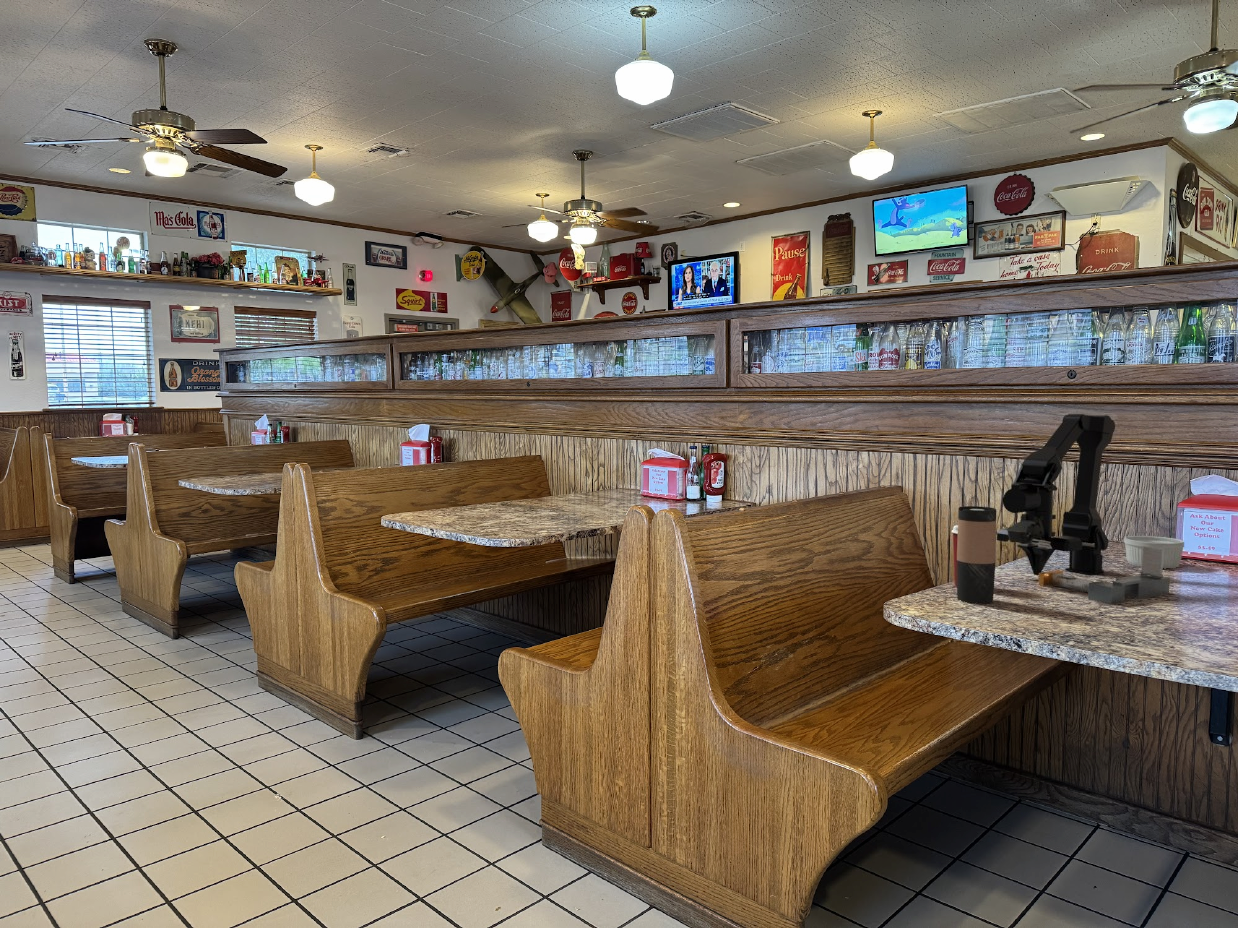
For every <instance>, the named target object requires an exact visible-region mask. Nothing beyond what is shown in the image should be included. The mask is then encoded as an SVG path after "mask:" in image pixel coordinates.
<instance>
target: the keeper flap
mask: <svg viewBox="0 0 1238 928" xmlns="http://www.w3.org/2000/svg"><path fill="white" fill-rule="evenodd" d="M1163 559H1164V549H1159V548H1152V547H1144V548H1143V559H1142V567H1141V571H1140V572H1139V575H1145V576H1151V577H1157V578H1163V577H1164V575H1163V570H1164V569H1163Z"/></svg>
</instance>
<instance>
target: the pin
mask: <svg viewBox="0 0 1238 928" xmlns="http://www.w3.org/2000/svg"><path fill="white" fill-rule="evenodd" d="M1092 582H1094V580H1091V579H1086V578H1080V577H1076V576H1071V575H1070V576H1069V575H1064V571H1063V570H1059V569H1057V570H1050V571H1049V570H1048V571H1043V572H1041V573H1039V575H1038V586H1039V585H1040V587H1049V586H1054V585H1055V587H1060V588H1064V589H1065V588H1066V589H1069V590H1075V591H1079V592H1083V593H1088V591H1089V583H1092ZM1048 585H1049V586H1048Z"/></svg>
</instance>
